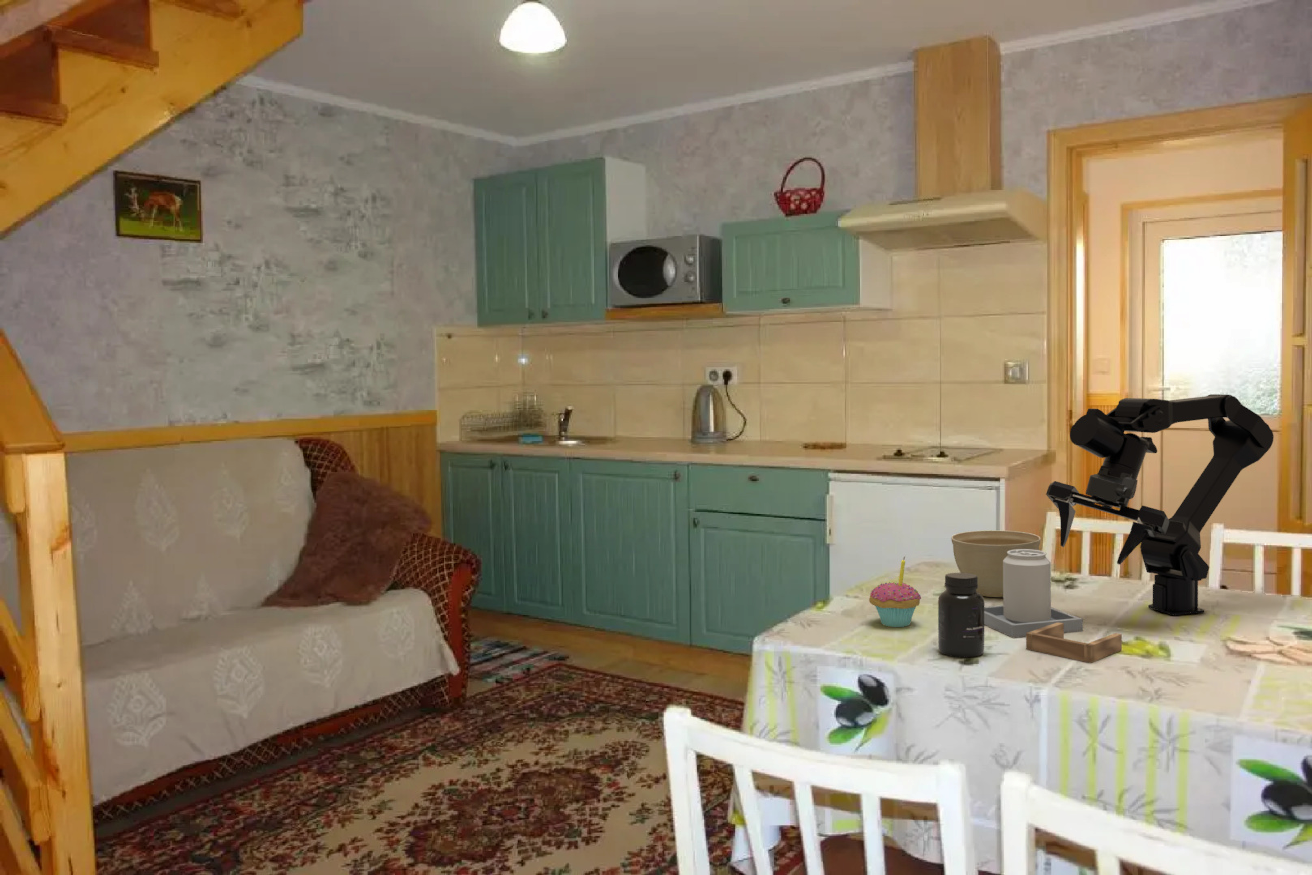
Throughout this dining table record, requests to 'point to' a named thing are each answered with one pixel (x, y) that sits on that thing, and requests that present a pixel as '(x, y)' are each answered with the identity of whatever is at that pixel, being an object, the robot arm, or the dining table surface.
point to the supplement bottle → (961, 617)
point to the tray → (1000, 623)
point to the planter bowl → (989, 555)
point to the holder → (1071, 644)
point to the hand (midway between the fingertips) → (1089, 555)
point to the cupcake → (895, 601)
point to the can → (1026, 586)
